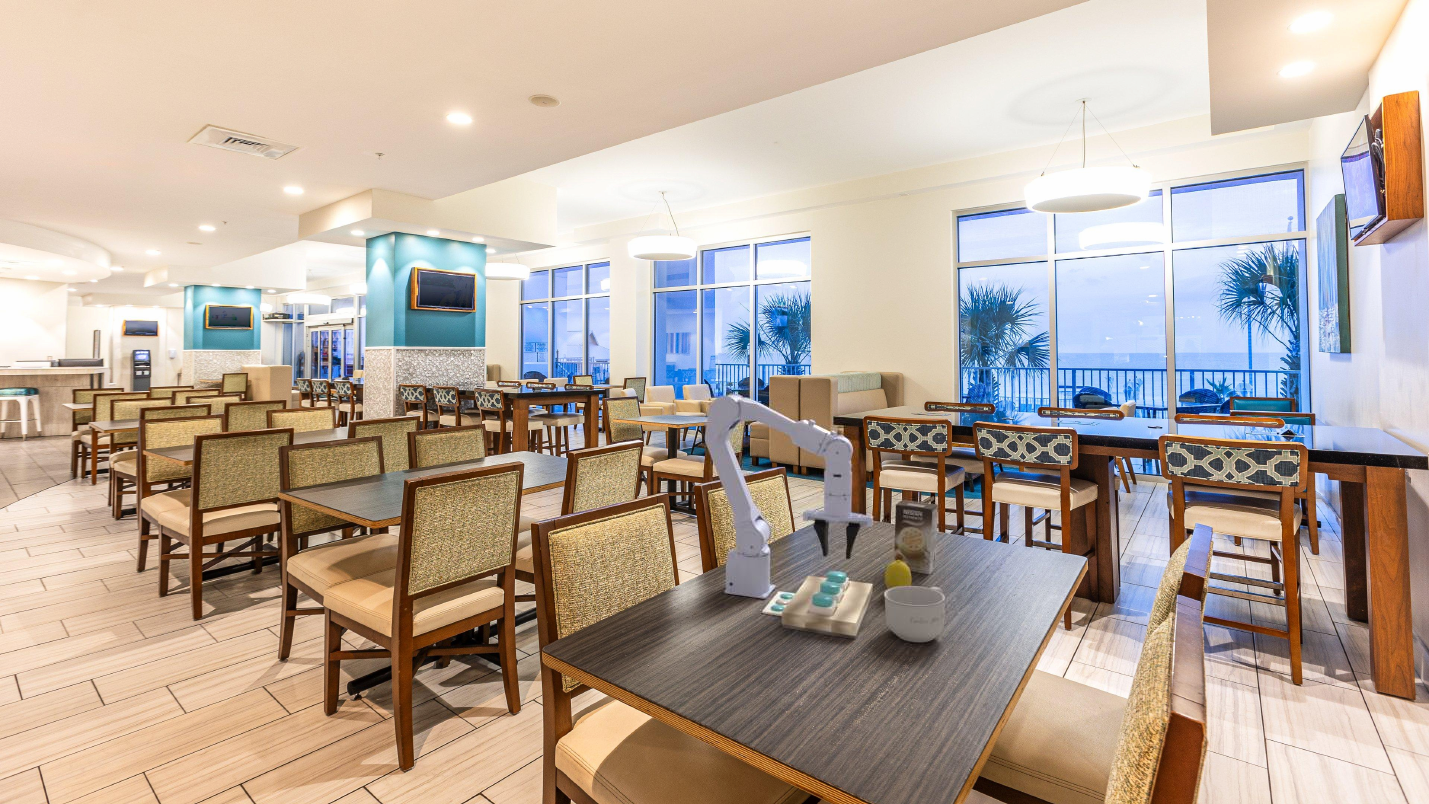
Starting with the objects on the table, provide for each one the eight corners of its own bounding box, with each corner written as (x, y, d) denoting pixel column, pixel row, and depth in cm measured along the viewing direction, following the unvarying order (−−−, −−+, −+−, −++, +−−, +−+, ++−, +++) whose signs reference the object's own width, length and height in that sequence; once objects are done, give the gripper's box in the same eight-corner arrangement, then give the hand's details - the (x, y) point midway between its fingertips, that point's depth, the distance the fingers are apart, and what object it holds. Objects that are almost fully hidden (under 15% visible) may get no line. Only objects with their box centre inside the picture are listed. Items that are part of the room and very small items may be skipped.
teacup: (913, 653, 110) (914, 609, 109) (871, 630, 120) (871, 589, 119) (969, 637, 116) (970, 595, 116) (924, 616, 126) (925, 577, 125)
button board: (781, 627, 121) (781, 611, 121) (808, 588, 141) (808, 575, 141) (855, 639, 116) (855, 623, 115) (872, 597, 136) (872, 583, 136)
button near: (808, 615, 120) (808, 599, 120) (813, 607, 125) (814, 591, 124) (831, 619, 119) (831, 602, 119) (836, 610, 123) (836, 594, 123)
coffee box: (892, 568, 155) (893, 504, 154) (899, 561, 161) (901, 499, 160) (930, 575, 150) (932, 508, 149) (937, 567, 156) (938, 503, 155)
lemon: (912, 601, 134) (913, 564, 133) (885, 599, 135) (886, 563, 134) (909, 592, 139) (910, 556, 138) (883, 590, 140) (884, 555, 140)
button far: (824, 591, 133) (824, 576, 133) (828, 584, 138) (828, 569, 137) (844, 593, 132) (845, 578, 132) (848, 586, 136) (848, 572, 136)
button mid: (816, 602, 127) (817, 587, 127) (821, 595, 131) (821, 580, 131) (838, 605, 125) (838, 590, 125) (842, 598, 129) (842, 583, 129)
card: (762, 613, 127) (762, 610, 127) (778, 593, 139) (778, 590, 138) (786, 616, 126) (786, 614, 126) (800, 596, 137) (801, 593, 137)
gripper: (799, 494, 132) (799, 557, 133) (870, 500, 127) (868, 566, 128) (807, 488, 139) (806, 548, 140) (874, 493, 133) (873, 556, 134)
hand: (836, 556), depth 134 cm, fingers open, 4 cm apart
